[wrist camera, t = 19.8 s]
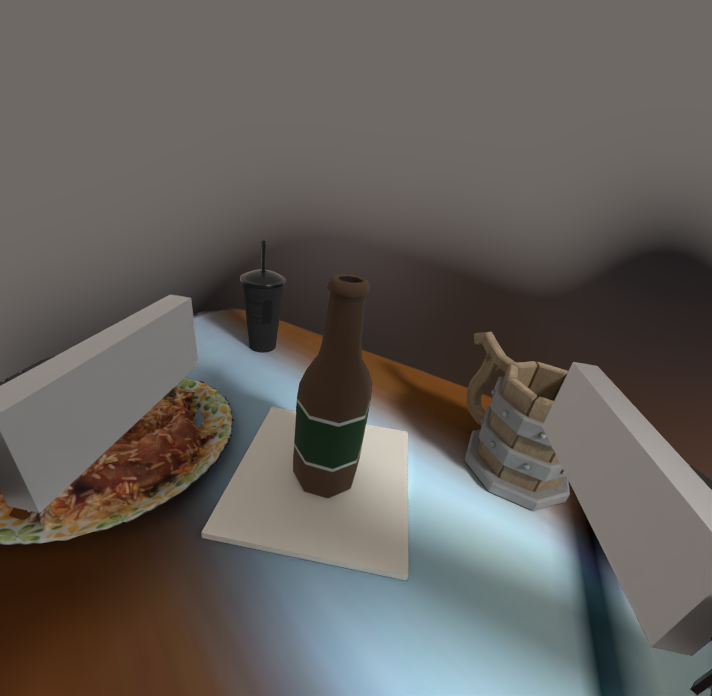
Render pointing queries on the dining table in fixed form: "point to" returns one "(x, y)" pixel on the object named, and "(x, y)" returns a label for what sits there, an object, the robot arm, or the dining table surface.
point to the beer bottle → (334, 396)
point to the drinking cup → (262, 305)
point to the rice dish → (134, 469)
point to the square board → (319, 503)
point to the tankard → (515, 430)
